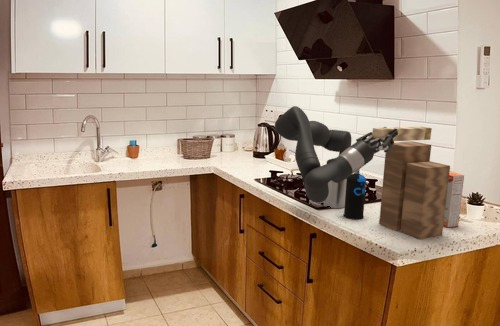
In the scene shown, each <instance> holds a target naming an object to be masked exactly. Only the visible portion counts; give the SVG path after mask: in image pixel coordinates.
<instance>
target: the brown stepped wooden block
mask: <svg viewBox="0 0 500 326" xmlns="http://www.w3.org/2000/svg"><path fill="white" fill-rule="evenodd" d="M431 152H432V144H429V143H423V142H416V141H395V142H394V144H393V145H392V147H391V148H390V149H389V151H388V152H384V153H385V154H384V155H385V156H384V166H383V176H382V177H383V179H382V189H381V198H380V199H381V200H380V209H379V210H380V211H379V220H378V221H379V222H378V224H379V225H380V226H383V227H386V228H387V229H390V230H393V231H395V232H400V233H402V234H405V235H407V236H410V237H411V238H412V237H413V238H415V239H417V240H423V239H427V238H434V237H438V236H443V230H444V226H443V223H444V214H445V206H446V197H447V189H448V180H449V172H450V171H451V170H450V169H451V165H448V164H444V163H439V162H434V161H431Z"/></svg>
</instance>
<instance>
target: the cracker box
mask: <svg viewBox="0 0 500 326" xmlns="http://www.w3.org/2000/svg"><path fill="white" fill-rule="evenodd" d="M464 183H465V175H464V174H461V173H457V172H454V171H451V170H450V172H449V180H448V189H447V197H446V206H445V214H444V223H443V228H454V227H459V223H460V214H461V205H462V198H463V189H464Z"/></svg>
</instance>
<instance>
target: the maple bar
mask: <svg viewBox="0 0 500 326" xmlns="http://www.w3.org/2000/svg"><path fill="white" fill-rule="evenodd" d="M394 128H395V129H397V131H398V135H397V136H395V137H394V138H393V141H394V142H413V141H430V140H431V136H432V131H433V130H432V129H433V128H431V127H425V126H403V127H401V126H399V127H397V126H395V127H387V128H383V127H372V131H371V132H372V135H373V138H375V139H376V138H378V137H383V136H385V135H387V134H388V133H389V132H390V131H392V130H393V129H394ZM386 139H387V138H386ZM386 139H384V140H385V141H386ZM380 142H382V141H381V140H380Z"/></svg>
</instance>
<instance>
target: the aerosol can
mask: <svg viewBox="0 0 500 326" xmlns="http://www.w3.org/2000/svg"><path fill="white" fill-rule="evenodd" d="M360 170H361V168H360V169H359V170H358V171H356V172H354V173H353V174H351V175H350V176H349V177H347V178H346V179H347V181H346V194H345V207H343V208H344V209H343V217H344V218H346V219H348V220H362V219H364V217H365V216H364V210H365V200H366V199H365V198H366V188H367V187H366V185H367V181H368V180H367V178H366V177H365V176H364V175H363V174H361V173H360Z"/></svg>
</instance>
